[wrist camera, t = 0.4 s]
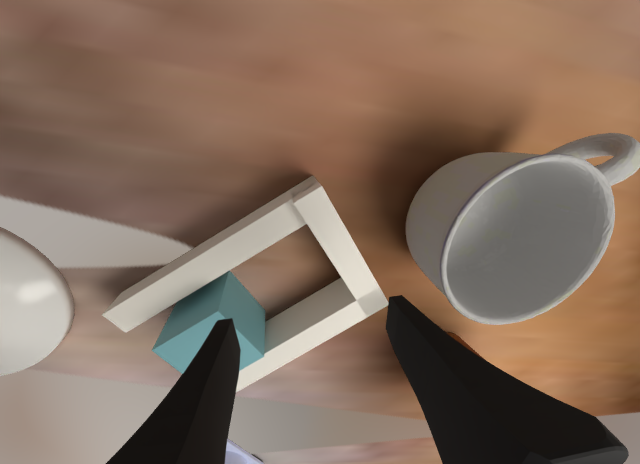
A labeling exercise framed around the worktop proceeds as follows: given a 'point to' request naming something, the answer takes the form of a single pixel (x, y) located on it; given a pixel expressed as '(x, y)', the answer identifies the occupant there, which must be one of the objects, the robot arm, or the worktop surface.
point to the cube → (212, 322)
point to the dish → (30, 305)
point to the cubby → (246, 241)
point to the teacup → (518, 225)
